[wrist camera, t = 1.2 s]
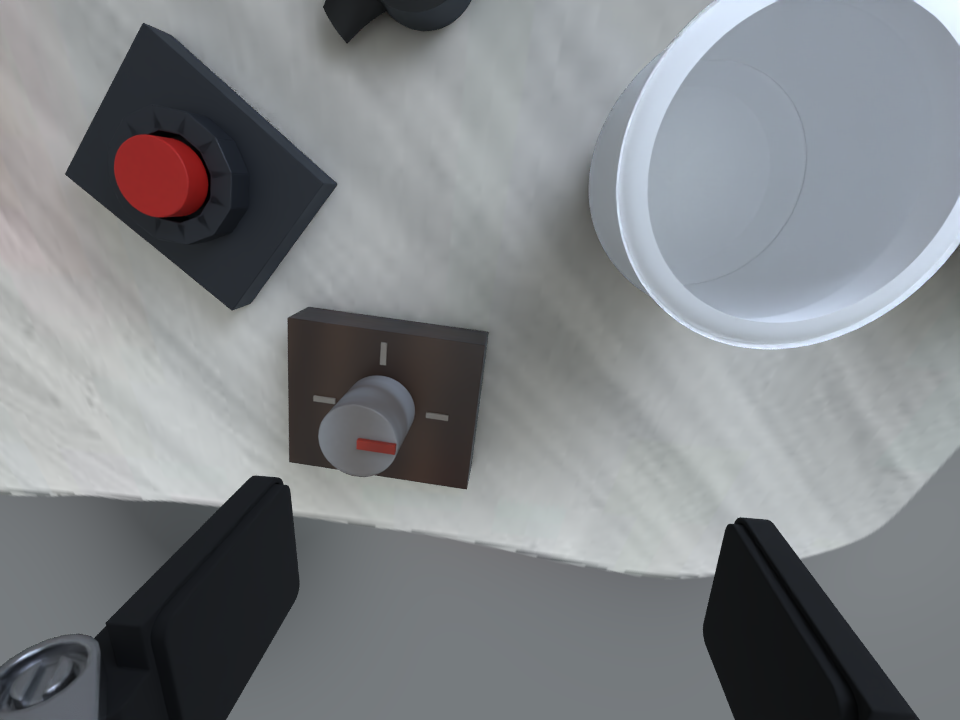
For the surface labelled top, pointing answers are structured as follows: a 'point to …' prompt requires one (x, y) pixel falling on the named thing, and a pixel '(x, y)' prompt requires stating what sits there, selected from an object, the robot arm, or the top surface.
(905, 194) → the jar
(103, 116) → the button block
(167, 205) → the button
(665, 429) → the top surface
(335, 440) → the dial
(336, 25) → the black wing nut
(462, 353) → the dial panel
